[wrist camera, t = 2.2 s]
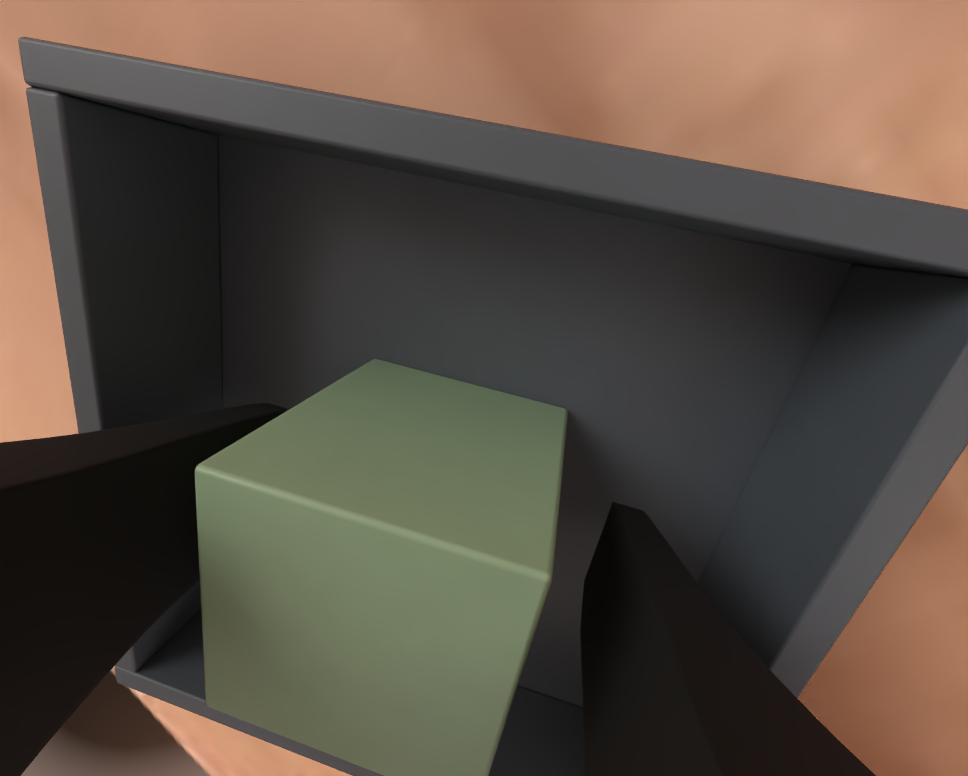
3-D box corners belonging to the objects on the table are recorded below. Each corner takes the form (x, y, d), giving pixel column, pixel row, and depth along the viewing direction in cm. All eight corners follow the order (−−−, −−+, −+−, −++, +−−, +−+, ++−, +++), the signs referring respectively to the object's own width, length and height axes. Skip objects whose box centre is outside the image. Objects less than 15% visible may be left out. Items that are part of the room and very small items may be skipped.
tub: (643, 730, 12) (663, 900, 9) (220, 582, 14) (115, 683, 11) (893, 233, 8) (1111, 234, 4) (207, 101, 9) (14, 34, 6)
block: (522, 569, 11) (476, 815, 6) (356, 517, 12) (203, 707, 7) (569, 408, 9) (553, 579, 5) (373, 356, 10) (190, 465, 5)
